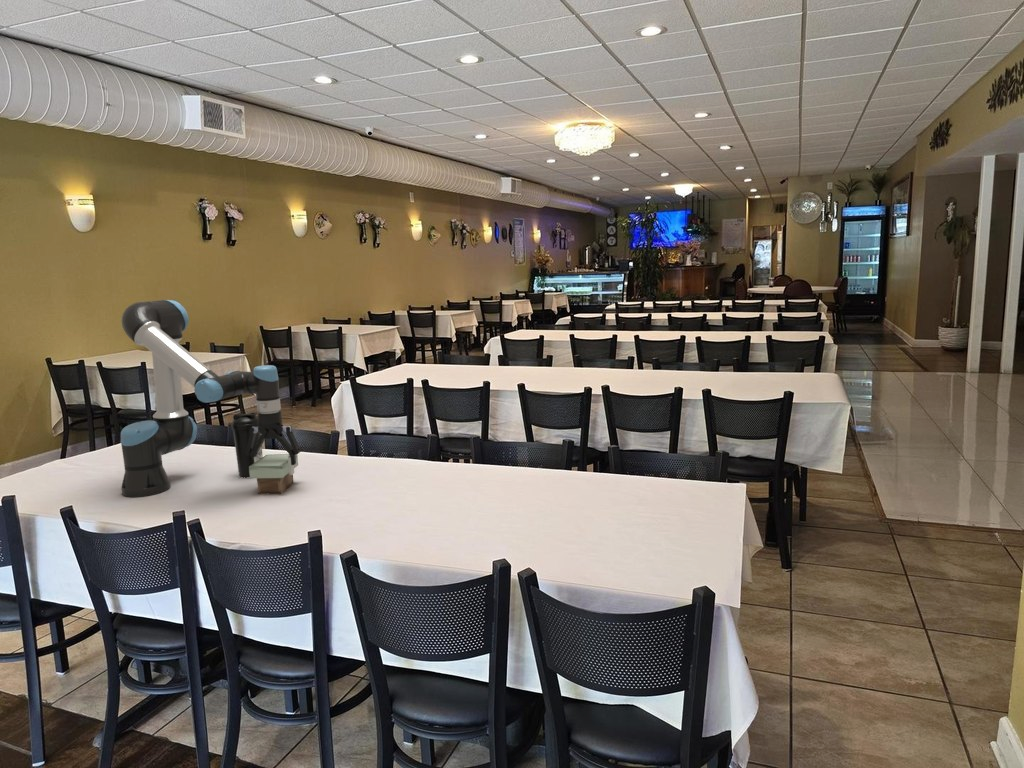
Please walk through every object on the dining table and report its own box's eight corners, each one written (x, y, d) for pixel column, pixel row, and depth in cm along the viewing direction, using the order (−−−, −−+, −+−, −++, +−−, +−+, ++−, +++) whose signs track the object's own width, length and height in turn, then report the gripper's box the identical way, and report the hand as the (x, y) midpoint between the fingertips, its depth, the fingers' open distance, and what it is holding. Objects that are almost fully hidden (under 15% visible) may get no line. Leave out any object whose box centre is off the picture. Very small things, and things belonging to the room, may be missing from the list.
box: (281, 493, 238) (278, 467, 237) (258, 494, 239) (255, 468, 237) (293, 482, 250) (291, 458, 248) (271, 483, 250) (269, 458, 249)
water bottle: (260, 478, 257) (254, 416, 253) (232, 479, 257) (225, 416, 253) (270, 470, 267) (264, 410, 263) (243, 470, 267) (237, 410, 263)
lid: (282, 477, 236) (281, 466, 235) (250, 478, 236) (248, 466, 236) (298, 465, 250) (297, 454, 250) (267, 465, 251) (266, 454, 250)
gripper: (230, 414, 237) (236, 478, 240) (299, 413, 235) (304, 477, 239) (240, 409, 244) (246, 471, 248) (307, 408, 243) (312, 470, 246)
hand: (275, 474), depth 243 cm, fingers closed on lid, 11 cm apart
